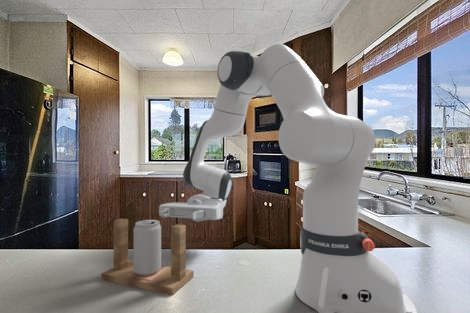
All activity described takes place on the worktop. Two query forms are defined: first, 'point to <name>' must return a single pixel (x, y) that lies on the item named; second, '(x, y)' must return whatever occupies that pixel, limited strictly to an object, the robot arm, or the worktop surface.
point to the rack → (166, 276)
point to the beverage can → (147, 247)
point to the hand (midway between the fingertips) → (176, 215)
